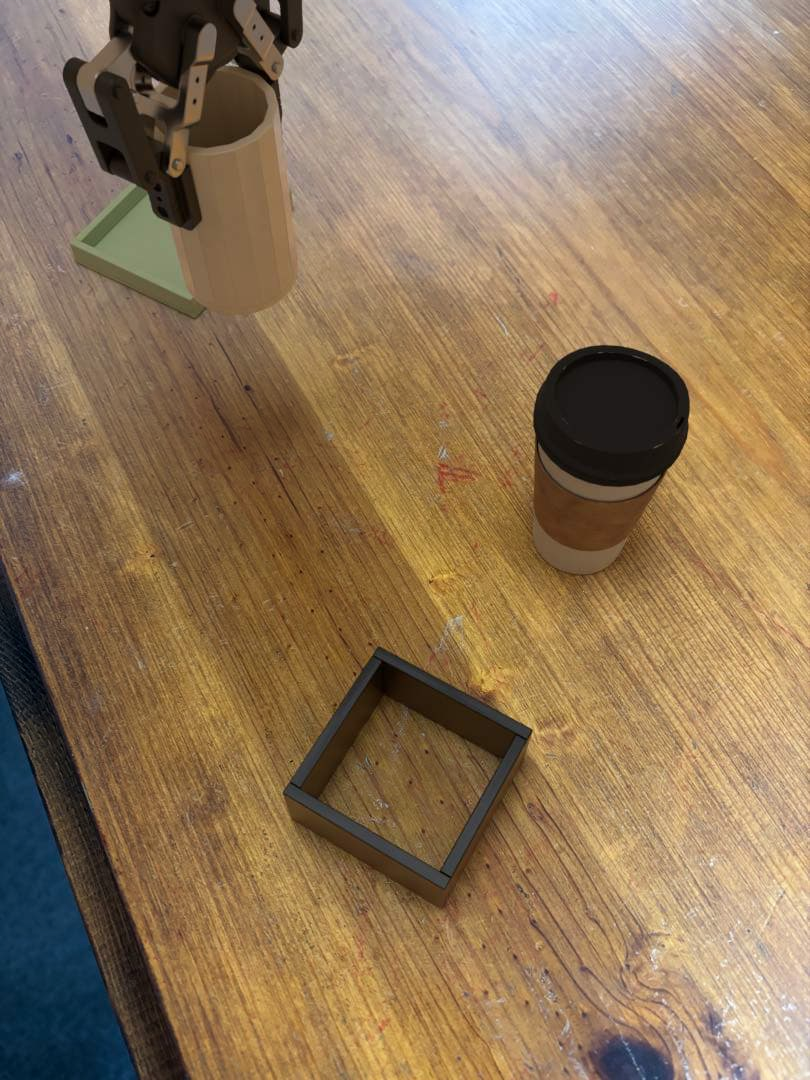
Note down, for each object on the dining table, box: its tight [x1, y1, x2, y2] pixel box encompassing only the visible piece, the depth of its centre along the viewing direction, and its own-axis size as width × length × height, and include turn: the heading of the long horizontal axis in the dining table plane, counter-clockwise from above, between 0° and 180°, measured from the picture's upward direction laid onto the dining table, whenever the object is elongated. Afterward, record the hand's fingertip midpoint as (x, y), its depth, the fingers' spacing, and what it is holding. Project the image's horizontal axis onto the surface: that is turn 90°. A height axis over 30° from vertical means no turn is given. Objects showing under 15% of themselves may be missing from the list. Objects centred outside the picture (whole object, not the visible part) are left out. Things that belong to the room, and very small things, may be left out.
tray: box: [69, 182, 294, 319], centre depth 82 cm, size 13×11×2 cm
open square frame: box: [282, 645, 534, 910], centre depth 59 cm, size 10×10×5 cm
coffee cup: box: [531, 344, 691, 576], centre depth 63 cm, size 8×8×15 cm
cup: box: [154, 64, 299, 316], centre depth 55 cm, size 6×6×11 cm
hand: (222, 178), depth 54 cm, fingers closed on cup, 6 cm apart
